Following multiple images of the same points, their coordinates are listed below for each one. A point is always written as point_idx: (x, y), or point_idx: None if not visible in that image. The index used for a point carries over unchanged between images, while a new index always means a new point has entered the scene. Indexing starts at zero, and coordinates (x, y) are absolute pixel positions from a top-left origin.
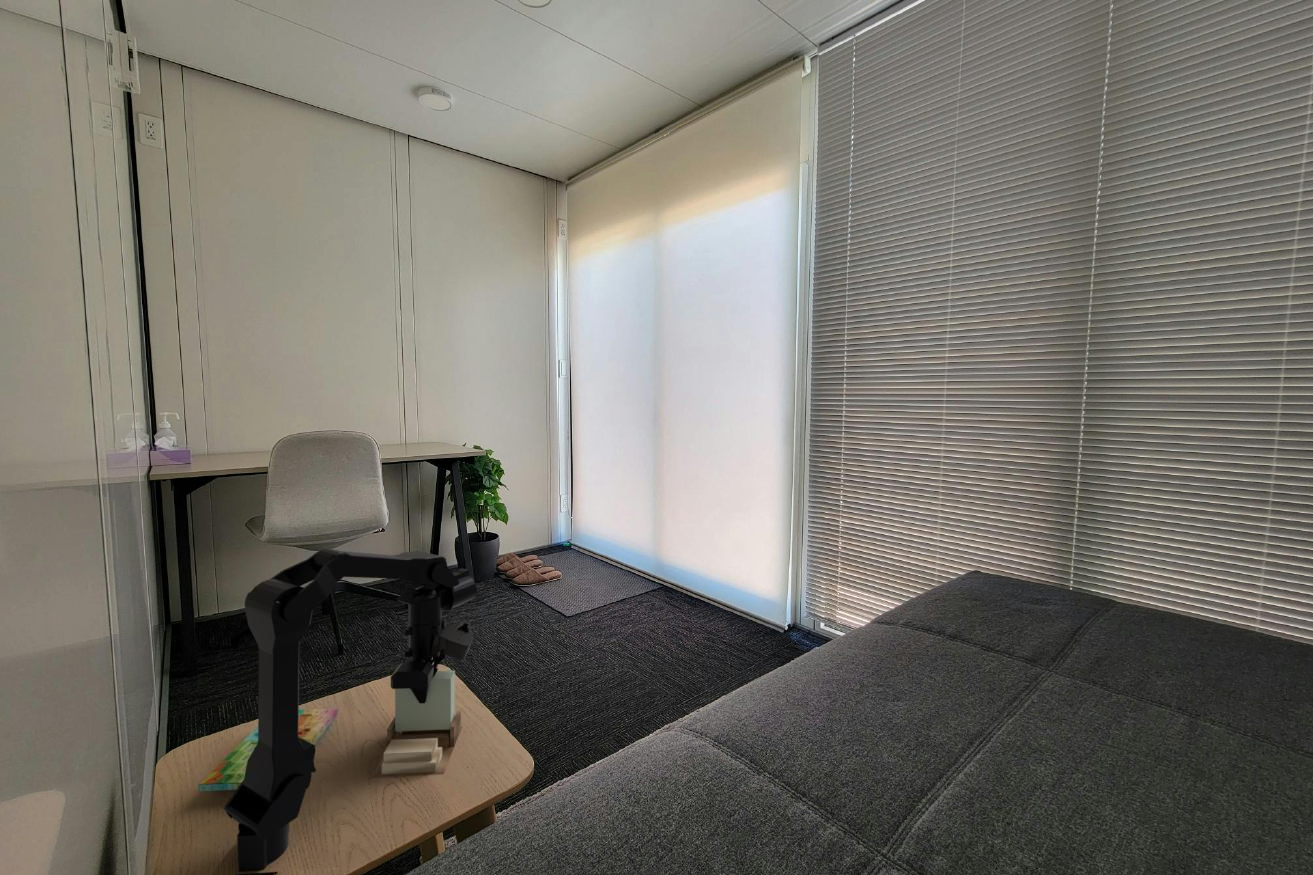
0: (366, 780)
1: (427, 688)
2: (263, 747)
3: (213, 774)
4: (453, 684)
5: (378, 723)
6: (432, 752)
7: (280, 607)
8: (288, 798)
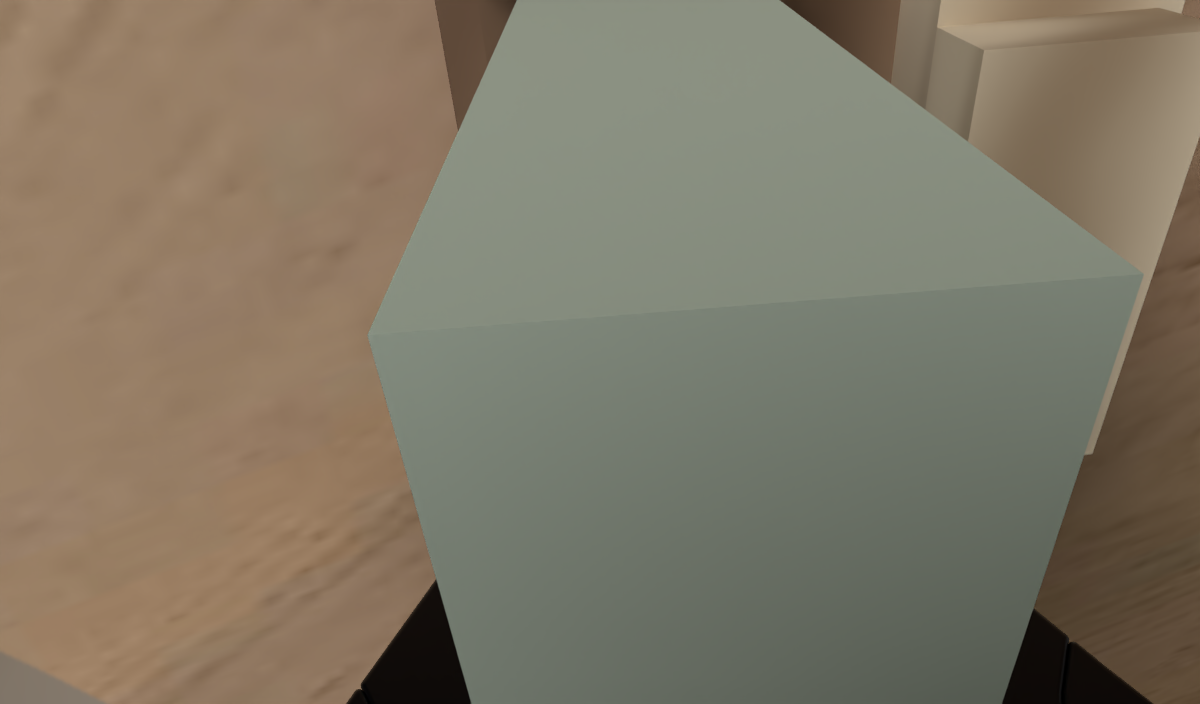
0: None
1: (1051, 645)
2: None
3: None
4: (611, 136)
5: (420, 569)
6: (1174, 23)
7: None
8: None
